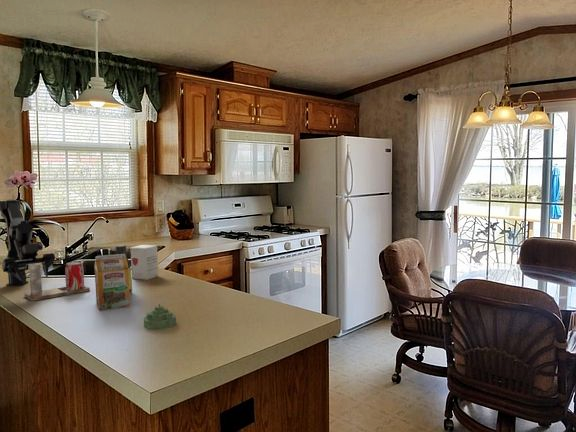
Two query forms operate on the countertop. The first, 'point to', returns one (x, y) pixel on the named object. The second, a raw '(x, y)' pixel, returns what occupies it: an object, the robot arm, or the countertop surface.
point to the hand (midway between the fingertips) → (35, 278)
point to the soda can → (74, 276)
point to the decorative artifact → (159, 319)
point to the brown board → (37, 286)
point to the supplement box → (144, 262)
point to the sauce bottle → (122, 250)
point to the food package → (112, 282)
